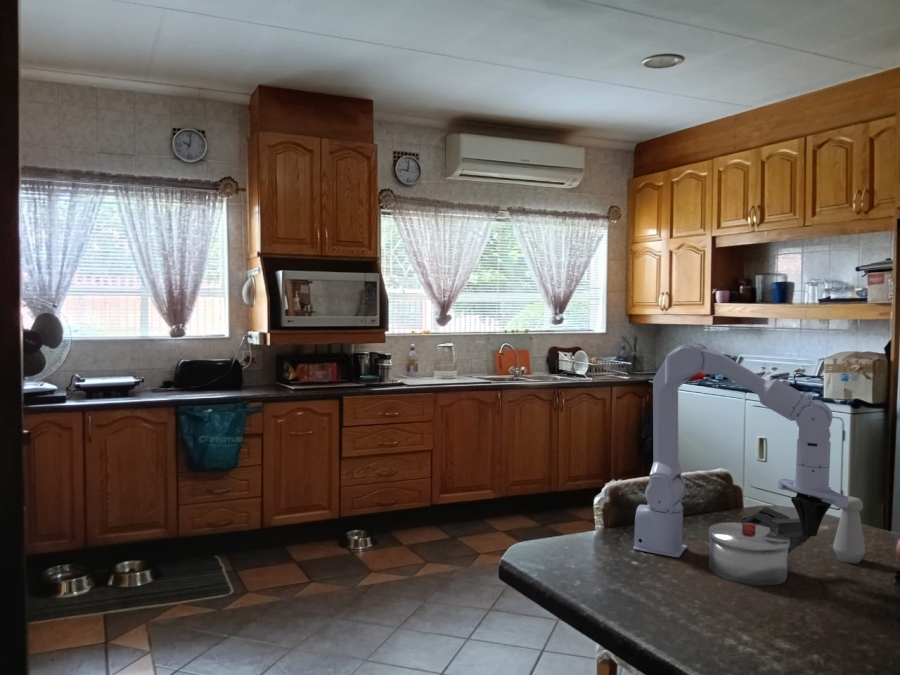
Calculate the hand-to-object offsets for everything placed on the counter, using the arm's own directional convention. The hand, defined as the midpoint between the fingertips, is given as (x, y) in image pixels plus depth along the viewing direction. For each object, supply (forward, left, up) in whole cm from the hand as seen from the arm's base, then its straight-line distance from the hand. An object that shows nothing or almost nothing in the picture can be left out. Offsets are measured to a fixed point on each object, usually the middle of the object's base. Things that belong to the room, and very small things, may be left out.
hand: (809, 535), depth 137 cm
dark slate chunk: (-10, +23, -9) cm, 27 cm away
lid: (-9, -1, -2) cm, 9 cm away
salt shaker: (+7, +16, -8) cm, 19 cm away
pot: (-11, 0, -8) cm, 13 cm away
